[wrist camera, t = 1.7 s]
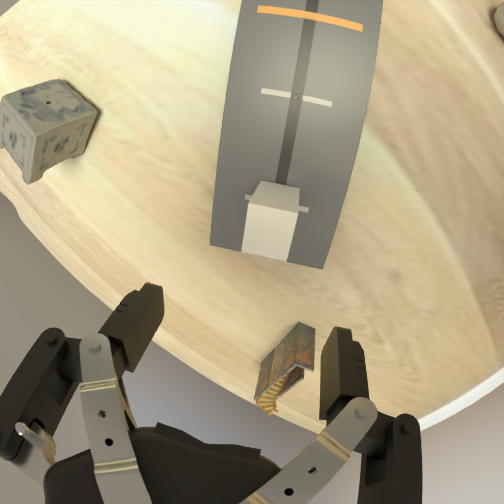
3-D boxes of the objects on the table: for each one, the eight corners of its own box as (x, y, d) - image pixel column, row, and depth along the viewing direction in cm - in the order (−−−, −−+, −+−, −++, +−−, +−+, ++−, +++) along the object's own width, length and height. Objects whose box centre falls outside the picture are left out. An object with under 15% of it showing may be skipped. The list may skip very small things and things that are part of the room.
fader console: (321, 254, 31) (322, 269, 28) (217, 232, 32) (209, 245, 29) (377, -19, 14) (384, -30, 11) (258, -40, 15) (253, -53, 12)
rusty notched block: (278, 366, 43) (270, 417, 35) (261, 360, 43) (251, 411, 34) (317, 327, 37) (316, 385, 29) (299, 319, 37) (294, 377, 28)
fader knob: (290, 227, 26) (286, 261, 21) (254, 220, 26) (241, 251, 21) (299, 188, 24) (298, 213, 19) (261, 180, 24) (248, 203, 19)
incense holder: (44, 126, 28) (-11, 145, 19) (65, 76, 24) (4, 84, 15) (80, 163, 30) (23, 190, 21) (106, 110, 26) (40, 125, 17)
